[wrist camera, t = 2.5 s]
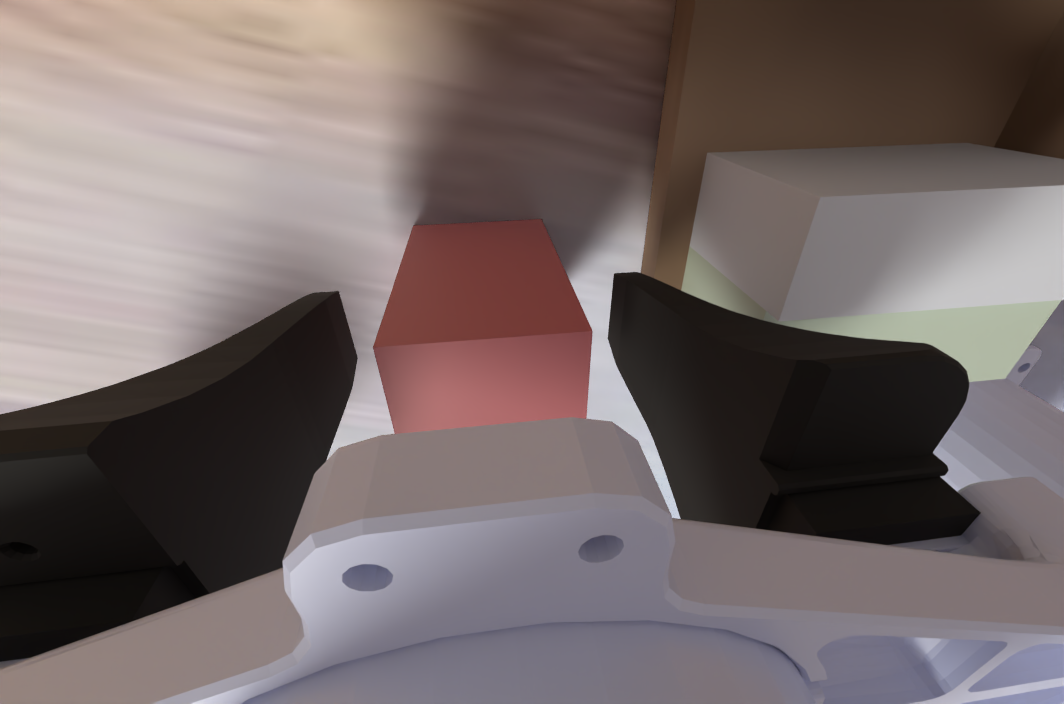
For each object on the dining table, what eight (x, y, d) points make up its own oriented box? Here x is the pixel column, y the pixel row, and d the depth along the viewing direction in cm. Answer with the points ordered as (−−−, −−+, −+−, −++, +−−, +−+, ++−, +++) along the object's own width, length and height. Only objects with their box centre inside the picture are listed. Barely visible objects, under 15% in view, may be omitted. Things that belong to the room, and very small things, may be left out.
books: (886, 308, 16) (1023, 389, 12) (674, 323, 15) (746, 415, 11) (966, 142, 13) (1184, 179, 9) (707, 152, 12) (819, 197, 8)
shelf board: (909, 290, 17) (1020, 348, 14) (636, 309, 16) (681, 377, 13) (1291, -472, 8) (1866, -843, 5) (746, -535, 7) (989, -1050, 4)
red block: (541, 303, 16) (584, 446, 10) (427, 311, 15) (402, 463, 10) (541, 219, 14) (592, 331, 8) (413, 225, 14) (372, 347, 8)
